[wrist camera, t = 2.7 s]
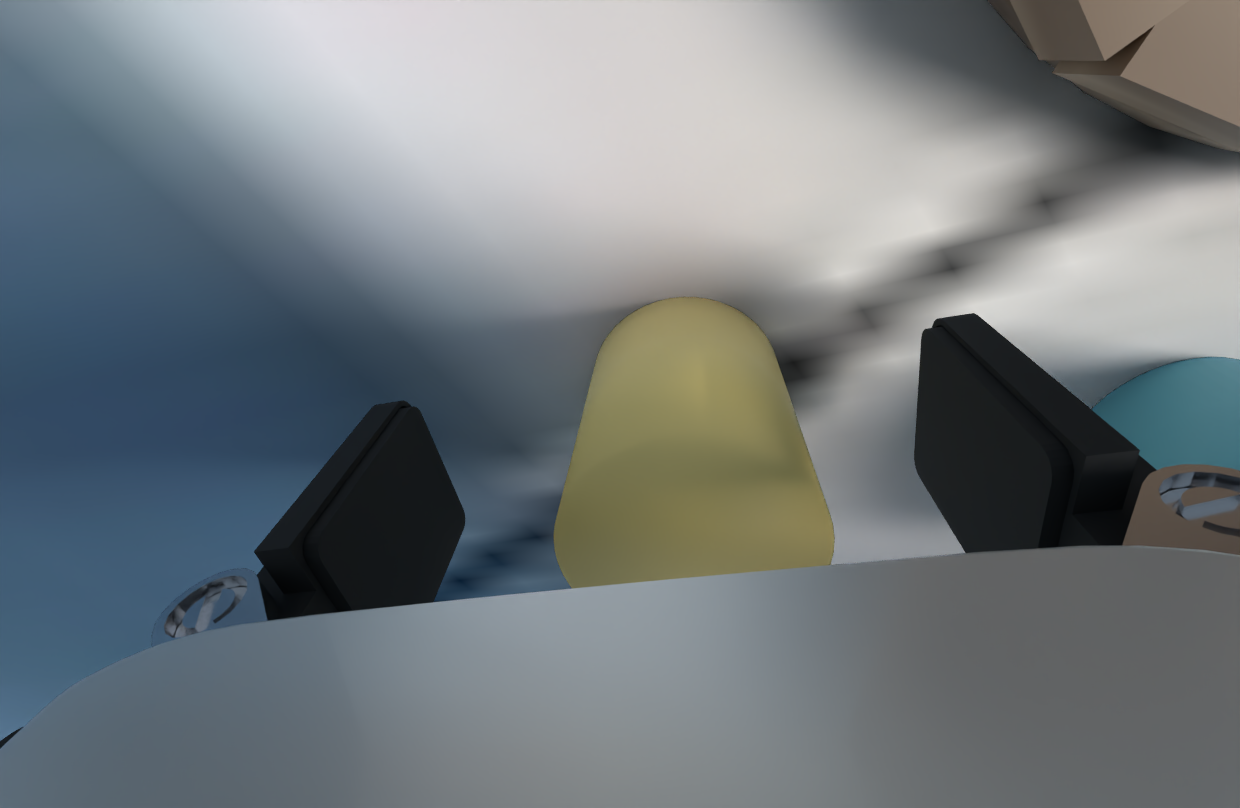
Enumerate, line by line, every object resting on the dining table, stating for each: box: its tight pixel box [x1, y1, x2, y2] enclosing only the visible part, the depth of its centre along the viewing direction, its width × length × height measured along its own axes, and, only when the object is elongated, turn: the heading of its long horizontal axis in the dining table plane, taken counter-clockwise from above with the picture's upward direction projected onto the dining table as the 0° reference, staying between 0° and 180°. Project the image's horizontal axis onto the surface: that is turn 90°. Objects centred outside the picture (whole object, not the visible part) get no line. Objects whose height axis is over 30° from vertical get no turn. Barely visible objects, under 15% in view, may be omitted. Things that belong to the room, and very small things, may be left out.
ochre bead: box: [554, 297, 835, 589], centre depth 11 cm, size 4×4×5 cm
